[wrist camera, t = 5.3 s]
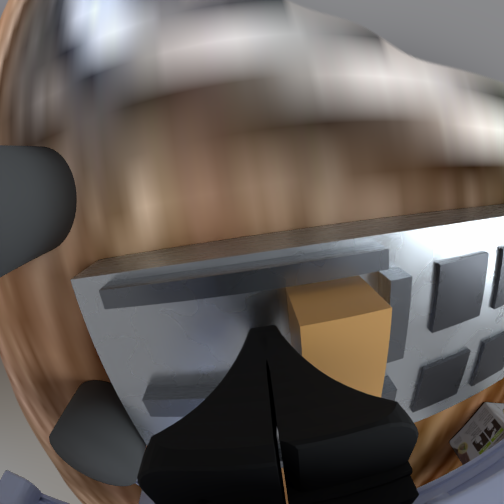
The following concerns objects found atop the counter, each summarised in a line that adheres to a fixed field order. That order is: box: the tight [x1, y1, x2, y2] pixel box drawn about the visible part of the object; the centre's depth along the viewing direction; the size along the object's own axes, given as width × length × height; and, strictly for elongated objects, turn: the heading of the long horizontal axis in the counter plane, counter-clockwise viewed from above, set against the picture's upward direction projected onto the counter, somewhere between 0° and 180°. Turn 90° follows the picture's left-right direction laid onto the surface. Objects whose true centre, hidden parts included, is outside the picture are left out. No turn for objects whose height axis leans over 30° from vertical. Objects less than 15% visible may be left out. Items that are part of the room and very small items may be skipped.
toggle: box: [286, 275, 392, 397], centre depth 10 cm, size 3×4×3 cm
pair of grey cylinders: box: [0, 146, 146, 486], centre depth 12 cm, size 6×21×5 cm, turn 8°
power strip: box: [71, 204, 504, 468], centre depth 13 cm, size 26×13×6 cm, turn 98°
